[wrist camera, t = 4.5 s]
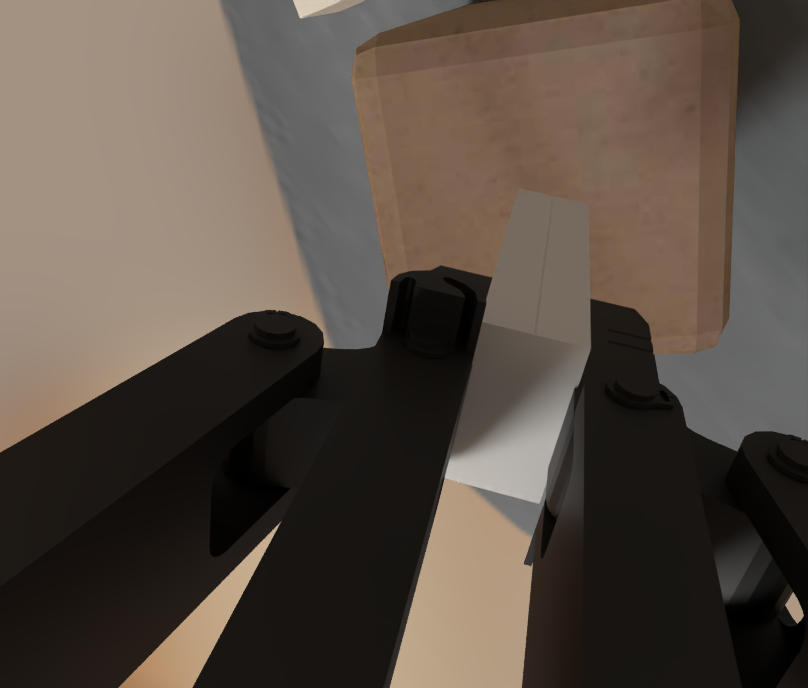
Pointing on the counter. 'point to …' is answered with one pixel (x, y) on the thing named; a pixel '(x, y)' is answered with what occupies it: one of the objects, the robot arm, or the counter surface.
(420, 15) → the counter surface
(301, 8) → the marked cube cream
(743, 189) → the counter surface
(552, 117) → the wooden block
